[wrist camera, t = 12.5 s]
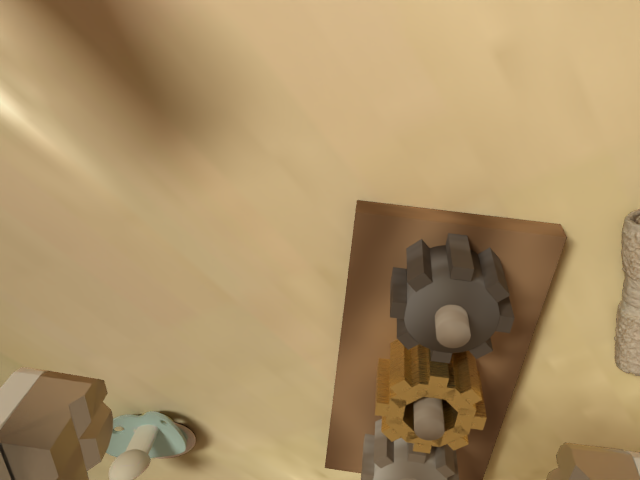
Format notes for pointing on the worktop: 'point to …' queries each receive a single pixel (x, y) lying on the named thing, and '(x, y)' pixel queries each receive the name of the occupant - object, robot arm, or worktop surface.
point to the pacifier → (145, 443)
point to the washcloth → (629, 299)
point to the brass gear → (428, 395)
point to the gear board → (382, 330)
